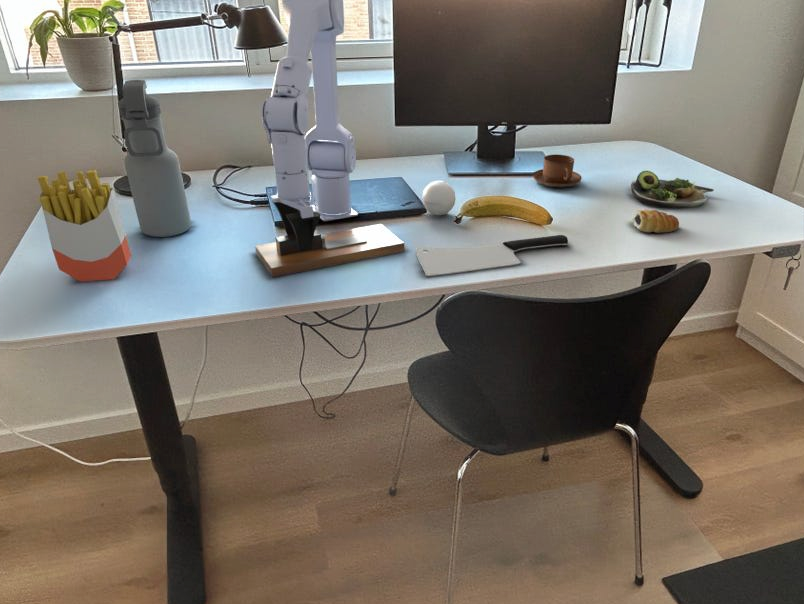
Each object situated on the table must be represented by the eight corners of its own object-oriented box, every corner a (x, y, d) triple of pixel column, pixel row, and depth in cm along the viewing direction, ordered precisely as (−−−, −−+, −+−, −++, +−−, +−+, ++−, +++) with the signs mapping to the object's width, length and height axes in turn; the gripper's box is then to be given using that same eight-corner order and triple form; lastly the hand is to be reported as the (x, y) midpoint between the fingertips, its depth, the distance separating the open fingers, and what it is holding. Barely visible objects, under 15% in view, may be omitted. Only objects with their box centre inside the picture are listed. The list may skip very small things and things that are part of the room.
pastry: (671, 222, 144) (675, 205, 142) (683, 234, 138) (687, 217, 136) (629, 222, 143) (632, 205, 141) (639, 234, 138) (643, 217, 136)
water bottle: (191, 236, 132) (161, 88, 116) (139, 241, 129) (100, 90, 114) (192, 218, 140) (164, 77, 124) (143, 222, 137) (108, 79, 122)
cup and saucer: (590, 186, 163) (594, 161, 160) (554, 194, 158) (557, 168, 154) (558, 173, 172) (560, 149, 168) (522, 180, 166) (524, 156, 162)
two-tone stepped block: (276, 251, 122) (275, 237, 121) (360, 236, 129) (359, 222, 128) (282, 258, 120) (280, 244, 118) (367, 242, 127) (366, 228, 125)
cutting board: (256, 254, 125) (254, 245, 124) (381, 231, 136) (381, 223, 135) (272, 277, 117) (271, 268, 116) (404, 251, 128) (404, 242, 127)
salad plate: (703, 186, 165) (707, 167, 163) (723, 211, 150) (728, 191, 148) (625, 182, 166) (628, 164, 164) (638, 207, 151) (641, 188, 149)
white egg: (447, 206, 149) (448, 174, 145) (460, 218, 143) (461, 184, 139) (405, 211, 146) (405, 179, 142) (417, 223, 140) (417, 190, 136)
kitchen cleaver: (426, 272, 118) (412, 244, 125) (426, 280, 119) (412, 252, 126) (582, 254, 126) (560, 229, 134) (581, 262, 127) (559, 237, 135)
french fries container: (129, 278, 116) (102, 177, 106) (62, 283, 113) (28, 180, 104) (134, 267, 119) (108, 169, 109) (69, 272, 117) (37, 172, 107)
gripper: (257, 161, 119) (267, 232, 126) (280, 184, 108) (290, 260, 115) (295, 156, 121) (302, 226, 129) (322, 179, 111) (328, 253, 118)
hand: (299, 242), depth 122 cm, fingers open, 7 cm apart
